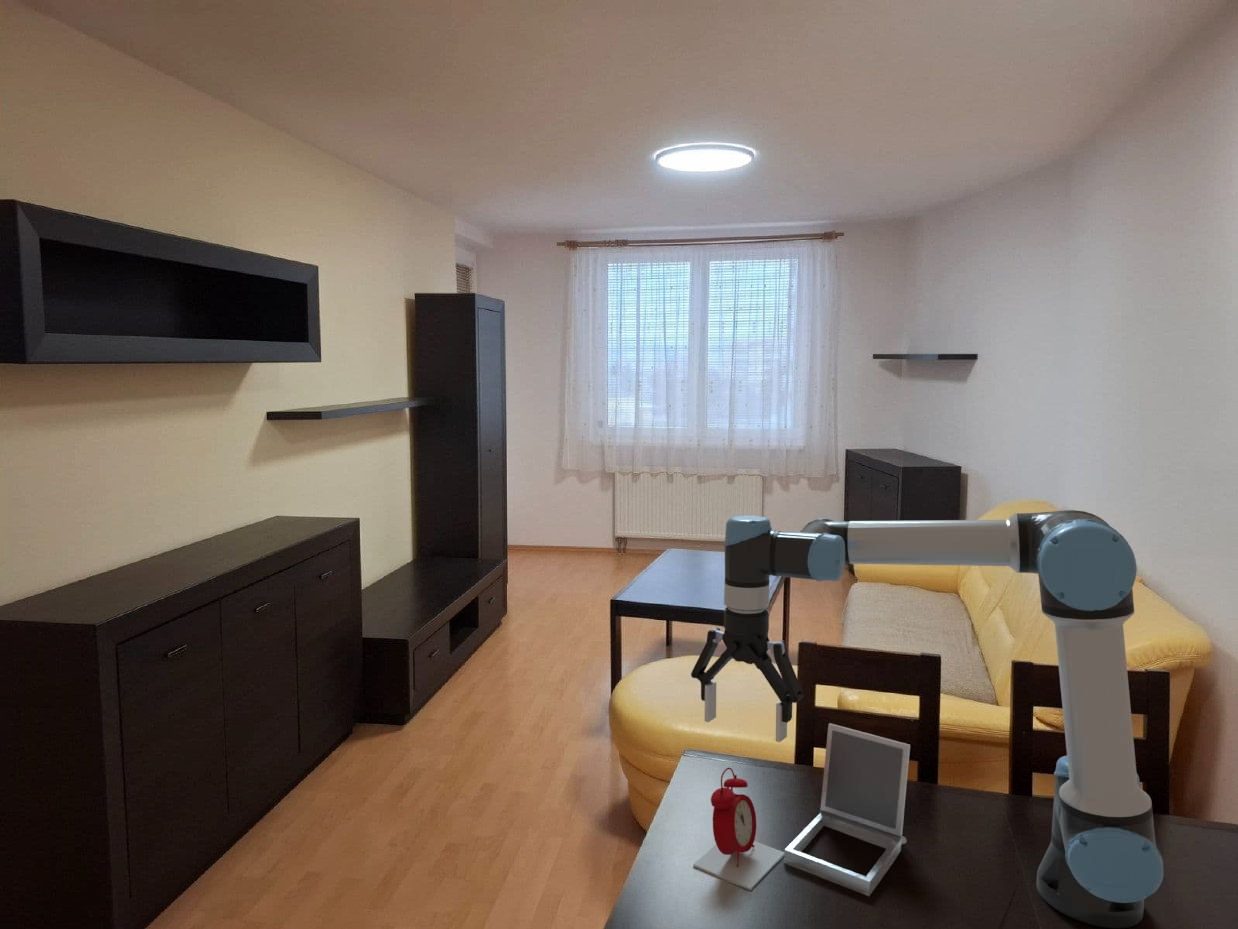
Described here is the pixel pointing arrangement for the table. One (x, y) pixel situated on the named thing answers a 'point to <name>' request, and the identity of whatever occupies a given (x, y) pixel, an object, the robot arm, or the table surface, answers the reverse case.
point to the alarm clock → (733, 818)
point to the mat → (740, 864)
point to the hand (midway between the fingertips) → (744, 729)
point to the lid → (865, 778)
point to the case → (836, 873)
